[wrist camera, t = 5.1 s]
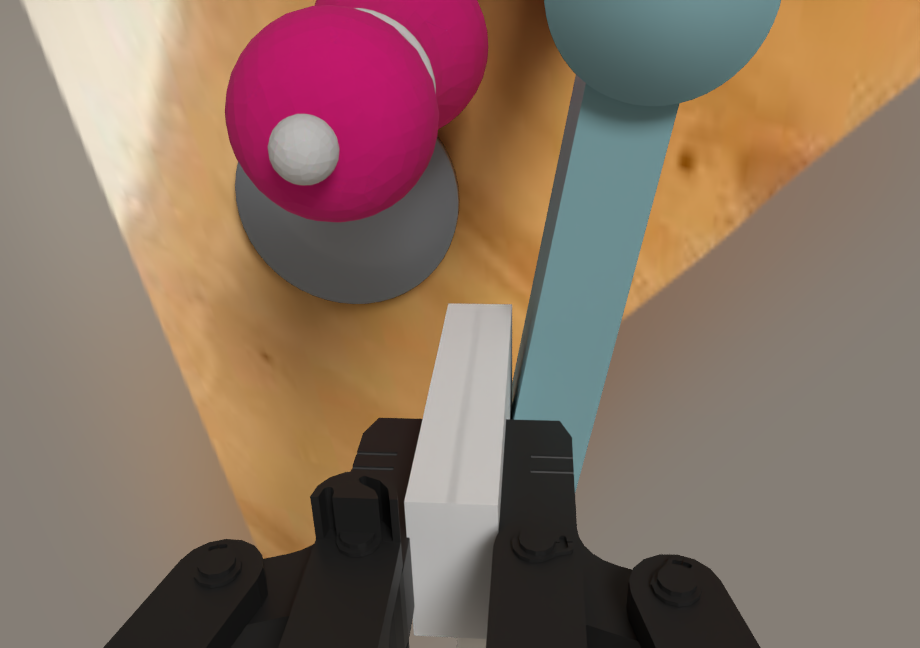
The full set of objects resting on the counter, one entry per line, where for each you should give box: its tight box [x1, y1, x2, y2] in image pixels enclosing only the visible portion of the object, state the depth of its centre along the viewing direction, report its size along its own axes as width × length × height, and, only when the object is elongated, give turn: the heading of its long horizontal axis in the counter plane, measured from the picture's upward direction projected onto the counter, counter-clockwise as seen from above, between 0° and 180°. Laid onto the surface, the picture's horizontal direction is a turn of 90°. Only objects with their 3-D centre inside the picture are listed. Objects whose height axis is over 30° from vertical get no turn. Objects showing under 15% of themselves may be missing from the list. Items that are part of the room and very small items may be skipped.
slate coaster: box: [235, 136, 459, 304], centre depth 42 cm, size 11×11×1 cm
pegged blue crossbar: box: [457, 0, 781, 648], centre depth 16 cm, size 15×4×6 cm, turn 172°
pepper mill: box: [225, 0, 488, 222], centre depth 29 cm, size 7×7×20 cm
